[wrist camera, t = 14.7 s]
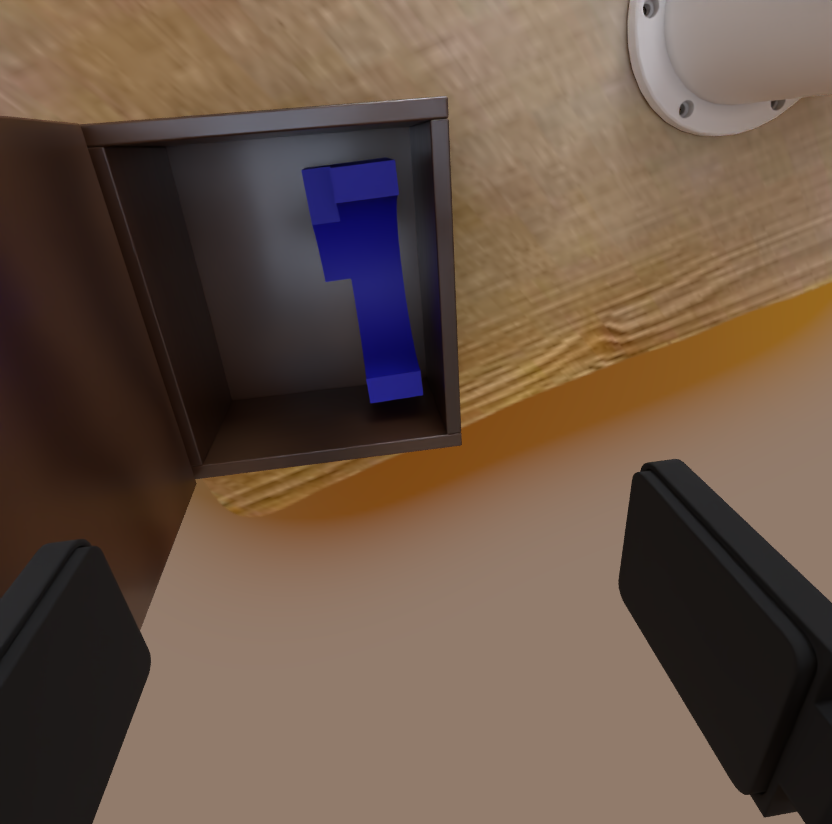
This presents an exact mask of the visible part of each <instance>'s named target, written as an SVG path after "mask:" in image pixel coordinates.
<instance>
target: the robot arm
mask: <svg viewBox="0 0 832 824" xmlns="http://www.w3.org/2000/svg"><path fill="white" fill-rule="evenodd" d="M643 6H645V8H646V14H645V15H644V14H643ZM627 20H628V48H629V54H630V59H631V64H632V70H633V72H634V75H635V78H636V80H637V83H638V86H639V88H640V91H641V92H642V94H643V95H644V97H645V99H646V100H647V102H648V103H649V105H650V106H651V108H652V109H653V110H654V111H655V112H656V113H657V114H658V115H659V116H660V117H661V118H662V119H663V120H664V121H665V122H667V123H669V124H671V125H672V126H674V127H676V128H677V129H679V130H681V131H684V132H688V133H691V134H695V135H699V136H724V135H735V134H739V133H742V132H746V131H749V130H752V129H755V128H758V127H759V126H761V125H763V124H765V123H767V122H769V121H771V120H773V119H775V118H776V117H778V116H779V115H780V114H782V113H783V112H785V111H786V110H787V109H789V108H790V107H791V106H793V105H794V104H795V103H796V102H797V101H798V100H799V99H800V98H802V97H811V96H820V95H829V94H832V0H630V4H629V11H628V19H627ZM680 107H681V112H680V113H679V108H680ZM619 590H620V594H621V597H622V599H623V601H624V603H625V605H626V607H627V608H628V610H629V612H630V613H631V615H632V617H633V618H634V620H635V622H636V623H637V625H638V627H639V628H640V630H641V632H642V633H643V635H644V637H645V638H646V640H647V642H648V643H649V645H650V647H651V648H652V650H653V652H654V653H655V655H656V657H657V658H658V660H659V662H660V663H661V665H662V667H663V668H664V670H665V671H666V673H667V675H668V676H669V678H670V680H671V682H672V683H673V685H674V686H675V688H676V690H677V691H678V693H679V695H680V696H681V698H682V700H683V701H684V703H685V705H686V706H687V708H688V709H689V711H690V713H691V715H692V716H693V718H694V720H695V721H696V723H697V725H698V726H699V728H700V730H701V731H702V733H703V734H704V736H705V738H706V739H707V741H708V743H709V745H710V746H711V748H712V750H713V751H714V753H715V755H716V756H717V758H718V760H719V761H720V763H721V765H722V766H723V768H724V770H725V771H726V773H727V775H728V776H729V778H730V780H731V781H732V783H733V784H734V786H735V787H736V788H737V789H738V790H739V791H740V792H741V793H743V794H744V795H749V794H750V795H751V797H752V799H753V800H754V802H755V803H756V805H757V807H758V808H759V810H760V812H761V813H762V815H763V816H764V817H770V816H775V815H780V814H786V813H791V812H798V813H799V815H800V816H801V817H802V819H803V821H804V822H805V824H832V603H831V602H830V601H829V600H828V599H827V598H826V597H825V596H824V595H823V594H822V593H821V592H820V591H819V590H818V589H816V588H815V587H814V586H813V585H812V584H811V583H810V582H809V581H808V580H807V579H806V578H805V577H804V576H803V575H802V574H801V573H800V572H798V570H797V569H795V568H794V567H793V566H792V565H791V564H790V563H789V562H788V561H787V560H786V559H785V558H784V557H783V556H782V555H781V554H780V553H779V552H777V551H776V550H775V549H774V548H773V547H772V546H771V545H770V544H769V543H768V542H767V541H766V540H765V539H764V538H763V537H762V536H761V535H759V533H757V532H756V531H755V530H754V529H753V528H752V527H751V526H750V525H749V524H748V523H747V522H746V521H745V520H744V519H743V518H742V517H740V515H738V514H737V513H736V512H735V511H734V510H733V509H732V508H731V507H730V506H729V505H728V504H727V503H726V502H725V501H724V500H723V499H722V498H721V497H720V496H718V495H717V494H716V493H715V492H714V491H713V490H712V489H711V488H710V487H709V486H708V485H707V484H706V483H705V482H704V481H703V480H702V479H701V478H700V477H698V476H697V475H696V474H695V473H694V472H693V471H692V470H691V469H690V468H689V467H688V466H687V465H686V464H685V463H684V462H682V461H681V460H679V459H672V460H664V461H657V462H649V463H645V464H644V465H643V466H642V468H641V471H640V472H637V473H635V474H634V475H633V479H632V485H631V492H630V501H629V507H628V515H627V522H626V529H625V536H624V545H623V551H622V559H621V566H620V573H619ZM150 665H151V657H150V652H149V649H148V647H147V645H146V643H145V641H144V639H143V637H142V634H141V632H140V630H139V628H138V626H137V624H136V622H135V619H134V617H133V615H132V613H131V611H130V609H129V607H128V605H127V602H126V600H125V598H124V596H123V594H122V592H121V590H120V588H119V585H118V583H117V581H116V579H115V577H114V575H113V573H112V571H111V568H110V566H109V564H108V562H107V560H106V558H105V556H104V553H103V552H102V550H101V548H99V547H98V546H92V545H91V544H90V542H88V541H87V540H86V539H76V540H69V541H61V542H54V543H47V544H45V545H43V546H42V547H41V548H40V549H39V550H38V551H37V552H36V553H35V555H34V556H33V557H32V559H31V560H30V561H29V562H28V564H27V565H26V566H25V568H24V569H23V570H22V572H21V573H20V574H19V575H18V577H17V578H16V579H15V581H14V582H13V583H12V585H11V586H10V587H9V589H8V590H7V591H6V592H5V594H4V595H3V596H2V598H1V599H0V824H92V823H93V820H94V818H95V815H96V812H97V810H98V807H99V804H100V802H101V799H102V796H103V794H104V791H105V788H106V786H107V783H108V781H109V778H110V775H111V773H112V770H113V767H114V765H115V762H116V759H117V757H118V754H119V752H120V749H121V746H122V744H123V741H124V738H125V736H126V733H127V730H128V728H129V725H130V722H131V719H132V717H133V714H134V712H135V709H136V706H137V704H138V701H139V699H140V696H141V693H142V691H143V688H144V685H145V683H146V680H147V677H148V675H149V671H150Z"/></svg>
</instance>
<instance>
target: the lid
mask: <svg viewBox="0 0 832 824" xmlns="http://www.w3.org/2000/svg"><path fill="white" fill-rule="evenodd" d="M195 486H196V481H195V477H194V474H193V471H192V468H191V465H190V462H189V459H188V456H187V453H186V450H185V447H184V444H183V440H182V437H181V434H180V431H179V428H178V425H177V422H176V419H175V416H174V413H173V410H172V407H171V404H170V400H169V397H168V394H167V391H166V388H165V385H164V382H163V379H162V376H161V373H160V370H159V367H158V363H157V360H156V357H155V354H154V351H153V348H152V345H151V342H150V339H149V336H148V333H147V330H146V327H145V323H144V320H143V317H142V314H141V311H140V308H139V305H138V302H137V299H136V296H135V293H134V290H133V286H132V283H131V280H130V277H129V274H128V271H127V268H126V265H125V262H124V259H123V256H122V253H121V250H120V246H119V243H118V240H117V237H116V234H115V231H114V228H113V225H112V222H111V219H110V216H109V213H108V209H107V206H106V203H105V200H104V197H103V194H102V191H101V188H100V185H99V182H98V179H97V176H96V172H95V169H94V166H93V163H92V160H91V157H90V154H89V151H88V148H87V145H86V142H85V139H84V136H83V132H82V129H81V126H80V125H79V124H77V123H67V122H57V121H47V120H37V119H28V118H18V117H8V116H0V599H1V598H2V596H3V595H4V594H5V592H6V591H7V590H8V589H9V587H10V586H11V585H12V583H13V582H14V581H15V579H16V578H17V577H18V575H19V574H20V573H21V572H22V570H23V569H24V568H25V566H26V565H27V564H28V562H29V561H30V560H31V559H32V557H33V556H34V555H35V553H36V552H37V551H38V550H39V549H40V548H41V547H42V546H43V545H45V544H47V543H54V542H61V541H69V540H76V539H86V540H87V541H88V542H90V544H91V545H92V546H98V547H99V548H101V550H102V552H103V553H104V556H105V558H106V560H107V562H108V564H109V566H110V568H111V571H112V573H113V575H114V577H115V579H116V581H117V583H118V585H119V588H120V590H121V592H122V594H123V596H124V598H125V600H126V602H127V605H128V607H129V609H130V611H131V613H132V615H133V617H134V619H135V622H136V624H137V626H138V628H139V630H140V629H141V627H142V624H143V622H144V619H145V616H146V614H147V611H148V609H149V606H150V603H151V601H152V598H153V596H154V593H155V590H156V588H157V585H158V583H159V580H160V577H161V575H162V572H163V570H164V567H165V564H166V562H167V559H168V556H169V554H170V551H171V549H172V546H173V544H174V541H175V538H176V535H177V533H178V531H179V528H180V525H181V523H182V520H183V518H184V515H185V512H186V510H187V507H188V504H189V502H190V499H191V497H192V494H193V491H194V489H195Z"/></svg>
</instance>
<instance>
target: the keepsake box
mask: <svg viewBox="0 0 832 824" xmlns="http://www.w3.org/2000/svg"><path fill="white" fill-rule="evenodd" d="M446 118H448V98H447V97H446V96H440V97H428V98H415V99H402V100H389V101H376V102H363V103H350V104H337V105H325V106H312V107H299V108H286V109H273V110H260V111H247V112H235V113H222V114H209V115H196V116H183V117H170V118H157V119H145V120H132V121H119V122H106V123H93V124H80V126H81V129H82V132H83V136H84V139H85V142H86V145H87V148H88V151H89V154H90V157H91V160H92V163H93V166H94V169H95V172H96V176H97V179H98V182H99V185H100V188H101V191H102V194H103V197H104V200H105V203H106V206H107V209H108V213H109V216H110V219H111V222H112V225H113V228H114V231H115V234H116V237H117V240H118V243H119V246H120V250H121V253H122V256H123V259H124V262H125V265H126V268H127V271H128V274H129V277H130V280H131V283H132V286H133V290H134V293H135V296H136V299H137V302H138V305H139V308H140V311H141V314H142V317H143V320H144V323H145V327H146V330H147V333H148V336H149V339H150V342H151V345H152V348H153V351H154V354H155V357H156V360H157V363H158V367H159V370H160V373H161V376H162V379H163V382H164V385H165V388H166V391H167V394H168V397H169V400H170V404H171V407H172V410H173V413H174V416H175V419H176V422H177V425H178V428H179V431H180V434H181V437H182V440H183V444H184V447H185V450H186V453H187V456H188V459H189V462H190V465H191V468H192V471H193V474H194V477H195V479H200V478H208V477H216V476H224V475H232V474H240V473H248V472H256V471H263V470H271V469H279V468H287V467H295V466H303V465H311V464H319V463H326V462H334V461H342V460H350V459H358V458H366V457H374V456H382V455H389V454H397V453H405V452H413V451H421V450H428V449H437V448H445V447H452V446H460V445H462V441H461V417H460V392H459V367H458V342H457V316H456V291H455V266H454V241H453V216H452V191H451V166H450V140H449V120H448V119H446ZM385 157H386V158H390V159H394V160H395V165H396V173H397V181H398V189H399V195H398V196H397V226H398V238H399V249H400V258H401V266H402V274H403V282H404V289H405V296H406V303H407V309H408V315H409V321H410V327H411V332H412V337H413V342H414V347H415V352H416V356H417V360H418V364H419V368H420V371H421V380H422V388H423V395H421V396H415V397H408V398H402V399H396V400H389V401H383V402H377V403H370V398H369V392H368V386H367V381H366V372H365V364H364V357H363V350H362V343H361V336H360V329H359V323H358V317H357V310H356V304H355V298H354V292H353V286H352V280H351V279H344V280H337V281H330V282H325V277H324V272H323V267H322V263H321V258H320V254H319V249H318V245H317V241H316V237H315V233H314V230H313V226H312V222H311V217H310V212H309V207H308V202H307V196H306V191H305V186H304V181H303V176H302V171H301V170H303V169H304V168H310V167H317V166H325V165H332V164H340V163H347V162H355V161H363V160H370V159H378V158H385Z"/></svg>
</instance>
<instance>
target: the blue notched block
mask: <svg viewBox="0 0 832 824" xmlns="http://www.w3.org/2000/svg"><path fill="white" fill-rule="evenodd" d="M301 171H302V176H303V181H304V186H305V191H306V196H307V202H308V207H309V212H310V217H311V222H312V226H313V230H314V233H315V237H316V241H317V245H318V249H319V254H320V258H321V263H322V267H323V272H324V277H325V282H330V281H337V280H344V279H351V280H352V286H353V292H354V298H355V304H356V310H357V317H358V323H359V329H360V336H361V343H362V350H363V357H364V364H365V372H366V381H367V386H368V392H369V398H370V403H377V402H383V401H389V400H396V399H402V398H408V397H415V396H421V395H423V388H422V380H421V371H420V368H419V364H418V360H417V356H416V352H415V347H414V342H413V337H412V332H411V327H410V321H409V315H408V309H407V303H406V296H405V289H404V282H403V274H402V266H401V258H400V249H399V238H398V226H397V196H398V195H399V189H398V181H397V173H396V165H395V160H394V159H390V158H386V157H385V158H378V159H370V160H363V161H355V162H347V163H340V164H332V165H325V166H317V167H310V168H304V169H303V170H301Z"/></svg>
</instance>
